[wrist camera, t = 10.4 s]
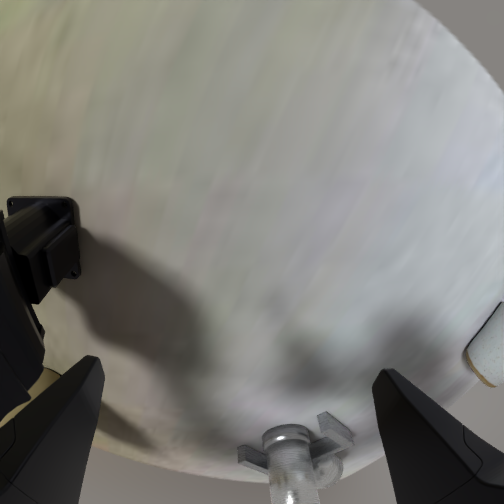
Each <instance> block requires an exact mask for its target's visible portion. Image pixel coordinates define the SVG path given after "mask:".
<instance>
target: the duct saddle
mask: <svg viewBox="0 0 504 504" xmlns="http://www.w3.org/2000/svg"><path fill="white" fill-rule="evenodd" d="M317 418H318V422H319V426H320V430H321V433H323V434H324V435H326V436H327V437H325V438H323V439H321V440H318V441H316V442H314V443H311V445H310V447H309V451H310V456H311V461H312V466H313V471H314V476H315V481H316V486H317V489H325V488H328V487H331V486H332V485H334V484H335V483H336V482H337V481H338V480H339V479H340V477H341V475H342V472H343V463H342V461H341V459H340V458H339V457H338V456H336V455H335V453H337V452H340V451H342V450H344V449H346V448H349V447H351V446H353V445H354V442H353V439H352V436H351V432H350V430H349V429H348V428H346V427H345V426H344V425H342V424H341V423H340V422H339V421H337V420H336V419H335V418H334V417H332V416H331V415H330V414H329V413H327V412H324V413H322V414H319V415H317ZM237 450H238V463H239V464H242V465H244V466H246V467H249V468H251V469H254V470H256V471H259V472H262V473H264V474H267V475H268V465H267V456H266V455H264V454H262V453H260V452H258V451H256V450H254V449H252V448H250V447H248V446H246V445H243V446H240V447H237Z"/></svg>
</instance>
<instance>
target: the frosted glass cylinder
mask: <svg viewBox="0 0 504 504" xmlns="http://www.w3.org/2000/svg"><path fill="white" fill-rule="evenodd" d="M262 441H263V451H264V453H265V454H266V456H267V465H268V475H269V484H270V493H271V502H272V504H320V501H319V496H318V491H317V486H316V481H315V476H314V471H313V466H312V461H311V456H310V451H309V447H310V445H311V443H310V439H309V434H308V430H307V428H306V427H304V426H301V425H296V424H287V425H281V426H277V427H274V428H271V429H269V430H268V431H266V432H265V433H264V434H263V436H262Z"/></svg>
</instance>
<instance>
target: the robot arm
mask: <svg viewBox="0 0 504 504" xmlns="http://www.w3.org/2000/svg"><path fill="white" fill-rule="evenodd" d="M12 202H13V205H12ZM64 202H66V203H67V207H66V206H65V205H64ZM7 210H8V216H9V217H7V218H6V219H4V214H3V210H0V422H1V421H2V419H3V418H4V417H5V416H6V415H7V414H8V413H9V412H11V411H12V410H13V409H15V408H16V407H17V406H19V405H21V404H24V403H26V402H28V401H30V400H31V396H30V394H29V393H28V391H29V390H30V389H31V387H32V386H33V385H34V384H35V383H36V382H37V381H38V379H39V378H40V376H41V374H42V372H43V370H44V366H43V364H42V363H43V359H44V354H45V348H44V342H43V339H44V334H45V330H44V328H43V326H42V325H41V324H40V323H39V321H38V318H37V316H36V314H35V312H34V309H33V307H32V305H31V304H39V303H40V302H41V301H42V300H43V298H44V297H45V296H46V294H47V293H48V292H49V291H50V289H51V288H52V287H53V288H55V287H57V285H58V284H59V283H60V282H61V280H62V279H63V278H69V279H77V278H78V277H79V276H80V275H81V269H80V263H79V259H80V254H79V247H78V239H77V231H76V227H75V225H74V215H73V204H72V200H71V199H70V198H69V197H55V196H12V197H10V198H8V200H7ZM73 271H75V272H76V274H75V273H74V272H73ZM104 381H105V375H104V371H103V368H102V365H101V361H100V359H99V358H98V357H96V356H90V355H87V356H85V357H83V358H82V359H81V360H80V361H79V362H77V363H76V364H75V365H74V366H73V367H71V368H70V369H69V370H68V371H67V372H65V373H64V374H63V375H62V376H61V377H59V378H58V379H57V380H56V381H55V382H53V383H52V384H51V385H50V386H49V387H48V388H46V389H45V390H44V391H43V392H42V393H40V394H39V395H38V396H37V397H36V398H35V399H33V400H32V401H31V402H30V403H29V404H28V405H26V406H25V407H24V408H23V409H22V410H21V411H19V412H18V413H17V414H16V415H15V416H14V418H11V419H10V420H9V421H8V422H7V423H6V424H4V425H3V426H2V427H1V428H0V504H78V502H79V497H80V492H81V487H82V483H83V478H84V473H85V469H86V465H87V461H88V456H89V452H90V448H91V445H92V441H93V437H94V433H95V430H96V426H97V422H98V416H99V410H100V404H101V398H102V392H103V387H104ZM372 393H373V399H374V404H375V410H376V416H377V423H378V428H379V432H380V436H381V439H382V443H383V447H384V451H385V455H386V458H387V463H388V467H389V470H390V475H391V479H392V483H393V488H394V492H395V497H396V501H397V504H504V453H503V452H501V451H499V450H497V449H496V448H495V447H493V446H492V445H490V444H488V443H487V442H486V441H484V440H483V439H481V438H480V437H478V436H477V435H476V434H474V433H473V432H472V431H471V430H469V429H468V428H467V427H466V426H464V425H462V423H461V422H459V421H458V420H457V419H455V418H454V417H453V416H452V415H451V414H449V413H448V412H447V411H446V410H444V409H443V408H442V407H441V406H439V405H438V404H437V403H436V402H434V401H433V400H432V399H431V398H430V397H428V396H427V395H426V394H425V393H423V392H422V391H421V390H420V389H418V388H417V387H416V386H415V385H413V384H412V383H411V382H410V381H408V380H407V379H406V378H405V377H403V376H402V375H401V374H400V373H399V372H397V371H396V370H395V369H393V368H387V369H382V370H381V371H380V373H379V374H378V376H377V378H376V380H375V382H374V383H373V386H372Z"/></svg>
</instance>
